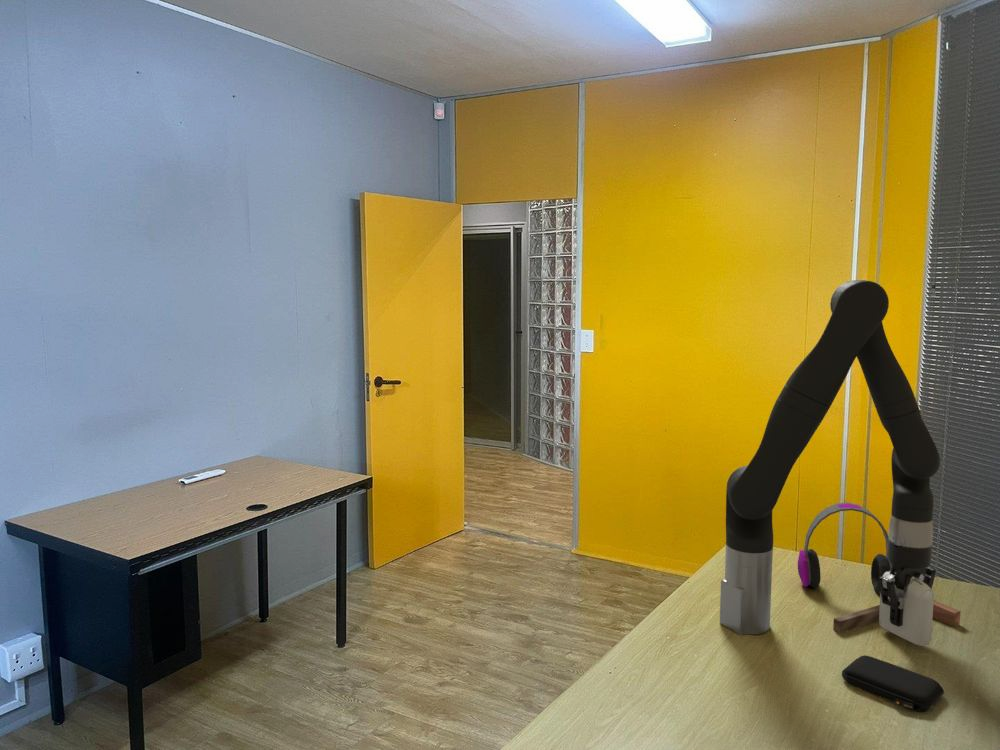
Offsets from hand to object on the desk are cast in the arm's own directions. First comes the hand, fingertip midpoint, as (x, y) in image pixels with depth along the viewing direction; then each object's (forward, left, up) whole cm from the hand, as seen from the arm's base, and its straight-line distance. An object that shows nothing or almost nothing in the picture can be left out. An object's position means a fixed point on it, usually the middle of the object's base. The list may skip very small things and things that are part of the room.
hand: (904, 621), depth 148 cm
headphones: (+10, +22, -4) cm, 25 cm away
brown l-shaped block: (+4, +4, -4) cm, 7 cm away
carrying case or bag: (-18, -11, -5) cm, 21 cm away
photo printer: (0, 0, -3) cm, 3 cm away
